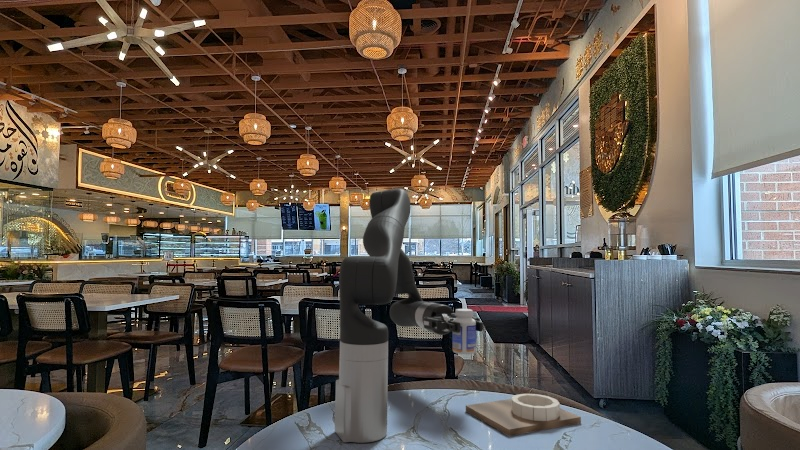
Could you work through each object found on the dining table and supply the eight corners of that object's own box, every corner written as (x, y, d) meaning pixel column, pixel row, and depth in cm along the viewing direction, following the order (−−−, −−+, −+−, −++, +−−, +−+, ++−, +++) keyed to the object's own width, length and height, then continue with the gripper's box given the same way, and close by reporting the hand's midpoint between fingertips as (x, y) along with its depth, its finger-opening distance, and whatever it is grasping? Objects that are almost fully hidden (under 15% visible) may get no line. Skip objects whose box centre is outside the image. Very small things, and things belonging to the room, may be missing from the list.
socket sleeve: (532, 423, 87) (532, 410, 87) (502, 408, 96) (502, 396, 96) (569, 417, 91) (569, 404, 91) (537, 403, 99) (537, 391, 100)
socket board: (509, 436, 84) (509, 429, 84) (465, 411, 97) (465, 405, 97) (580, 423, 91) (580, 416, 91) (531, 401, 105) (531, 396, 105)
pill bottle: (475, 350, 105) (475, 308, 106) (476, 355, 100) (477, 311, 101) (451, 349, 106) (452, 307, 107) (452, 354, 101) (452, 310, 101)
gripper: (409, 303, 114) (443, 311, 98) (458, 302, 120) (496, 309, 104) (409, 333, 113) (442, 346, 98) (458, 330, 119) (496, 342, 104)
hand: (470, 327), depth 101 cm, fingers closed on pill bottle, 5 cm apart
